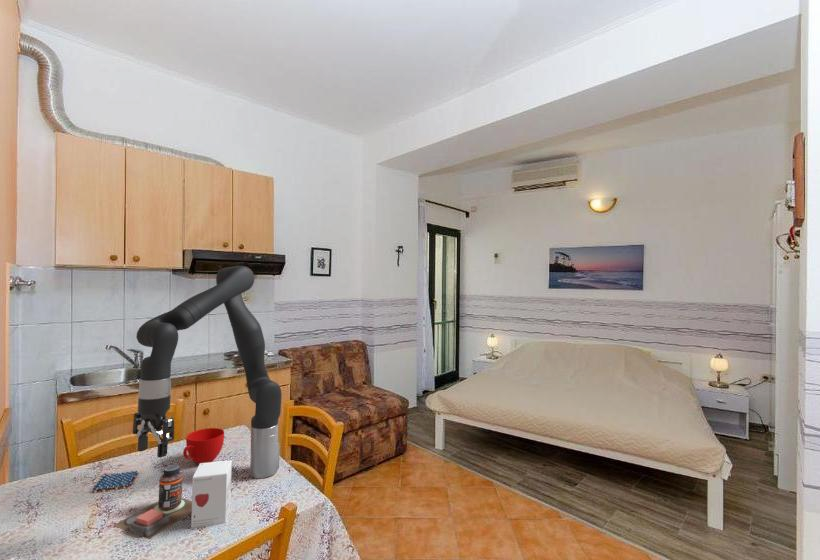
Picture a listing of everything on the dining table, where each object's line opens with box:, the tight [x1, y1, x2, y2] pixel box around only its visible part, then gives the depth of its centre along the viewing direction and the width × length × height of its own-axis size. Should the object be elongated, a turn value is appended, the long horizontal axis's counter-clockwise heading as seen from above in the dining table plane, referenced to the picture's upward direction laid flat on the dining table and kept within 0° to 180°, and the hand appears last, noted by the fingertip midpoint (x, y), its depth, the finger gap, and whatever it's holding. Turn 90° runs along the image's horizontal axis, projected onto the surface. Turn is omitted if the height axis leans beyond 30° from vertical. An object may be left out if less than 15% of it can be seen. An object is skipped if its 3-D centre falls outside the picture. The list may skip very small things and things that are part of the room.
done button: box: [136, 509, 163, 527], centre depth 107 cm, size 4×4×2 cm
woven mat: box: [92, 470, 140, 494], centre depth 131 cm, size 10×11×2 cm
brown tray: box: [112, 497, 192, 540], centre depth 112 cm, size 17×14×3 cm
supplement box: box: [190, 459, 233, 529], centre depth 112 cm, size 9×9×15 cm
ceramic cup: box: [182, 427, 225, 465], centre depth 147 cm, size 13×17×10 cm
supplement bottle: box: [158, 464, 183, 510], centre depth 117 cm, size 6×6×11 cm
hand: (152, 453), depth 107 cm, fingers open, 8 cm apart
